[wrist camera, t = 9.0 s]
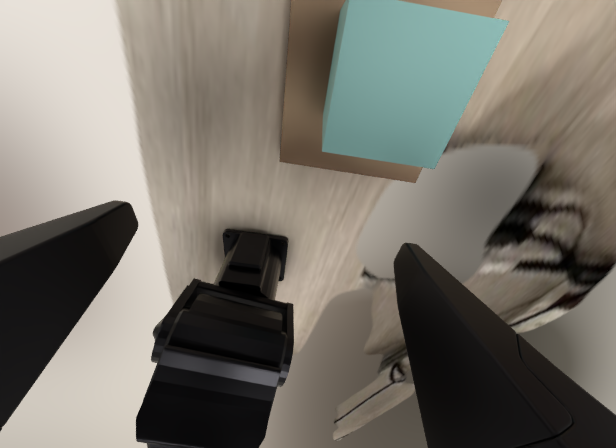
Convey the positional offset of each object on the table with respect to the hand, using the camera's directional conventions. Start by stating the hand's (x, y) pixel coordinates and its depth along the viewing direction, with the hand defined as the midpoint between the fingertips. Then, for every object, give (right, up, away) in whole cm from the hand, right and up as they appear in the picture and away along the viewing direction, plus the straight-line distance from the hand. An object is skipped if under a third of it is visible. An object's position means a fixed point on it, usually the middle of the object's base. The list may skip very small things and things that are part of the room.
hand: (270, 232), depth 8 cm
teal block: (+5, +9, +6) cm, 11 cm away
